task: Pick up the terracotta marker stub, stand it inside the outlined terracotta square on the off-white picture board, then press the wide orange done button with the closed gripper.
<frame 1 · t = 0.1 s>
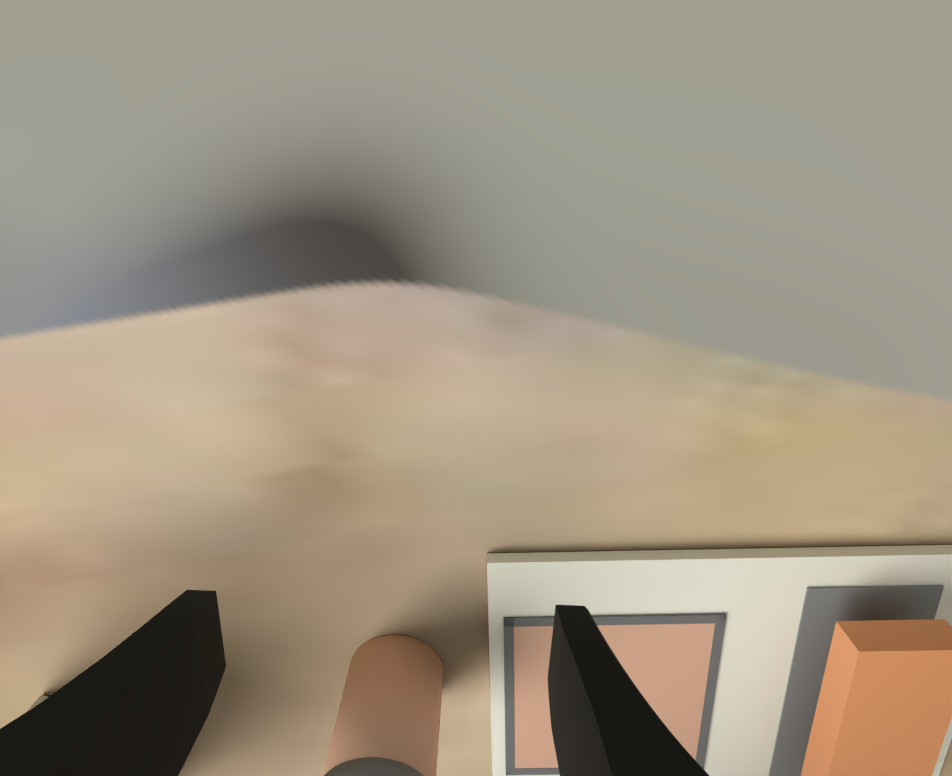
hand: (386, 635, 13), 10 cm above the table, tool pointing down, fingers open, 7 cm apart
terracotta marker: (396, 671, 27), on the table
picture board: (722, 684, 27), on the table
done button: (874, 735, 24), point 3 cm above the table, slide at 0.0 cm
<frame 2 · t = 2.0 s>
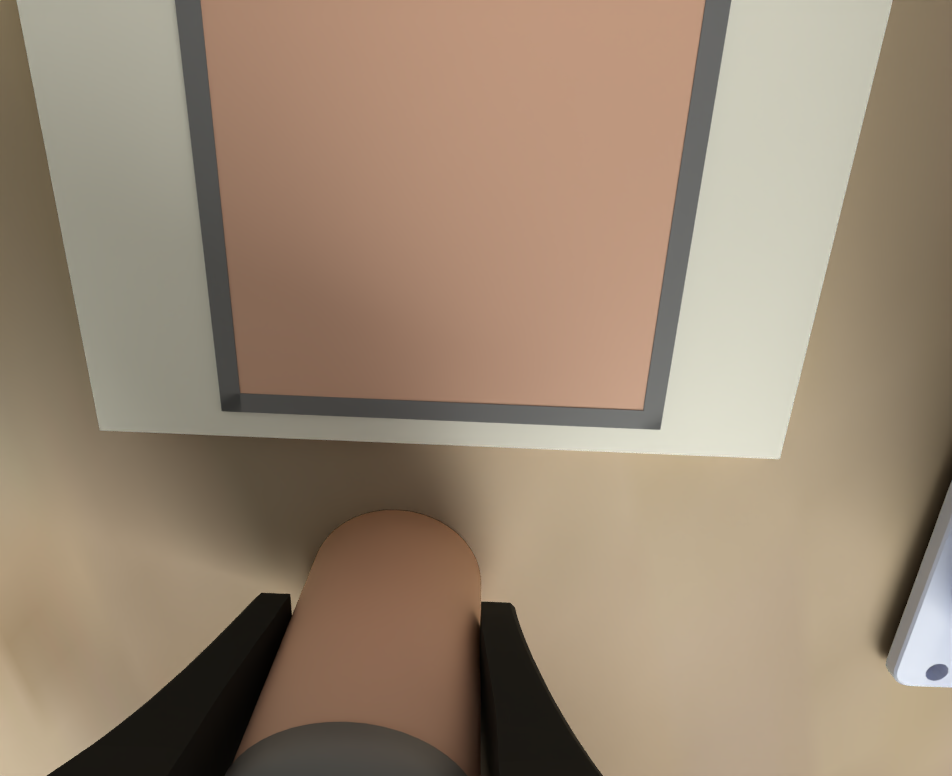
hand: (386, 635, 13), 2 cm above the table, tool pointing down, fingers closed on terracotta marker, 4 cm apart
terracotta marker: (396, 582, 15), on the table, touching gripper
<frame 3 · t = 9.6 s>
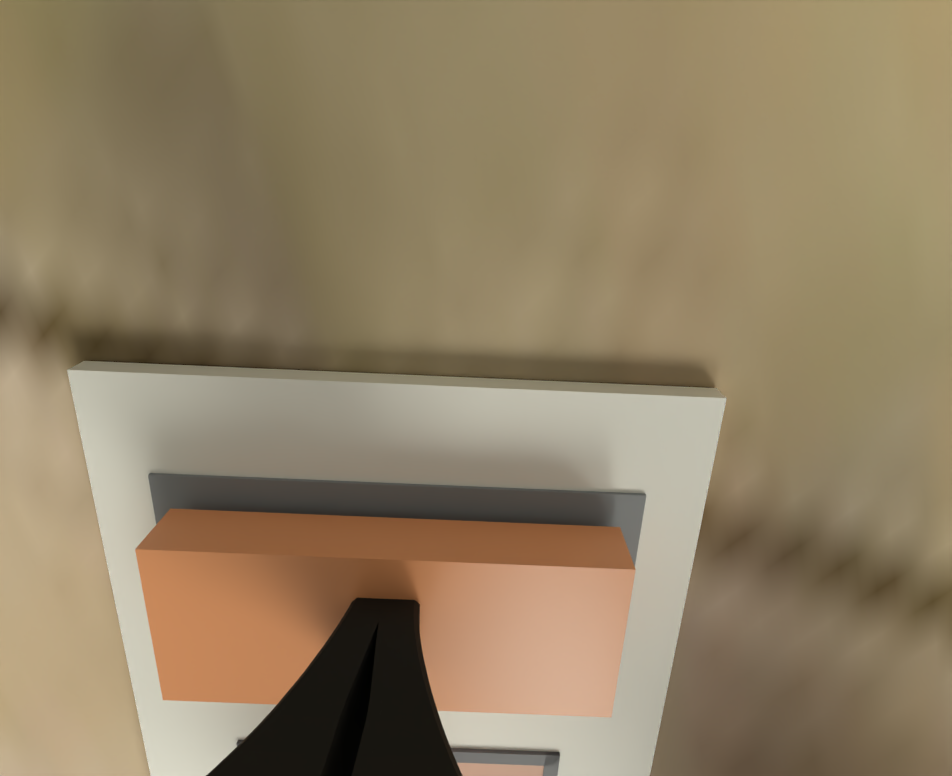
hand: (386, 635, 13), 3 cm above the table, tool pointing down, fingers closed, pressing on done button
picture board: (401, 710, 17), on the table
done button: (391, 613, 14), point 2 cm above the table, slide at 0.7 cm, touching gripper
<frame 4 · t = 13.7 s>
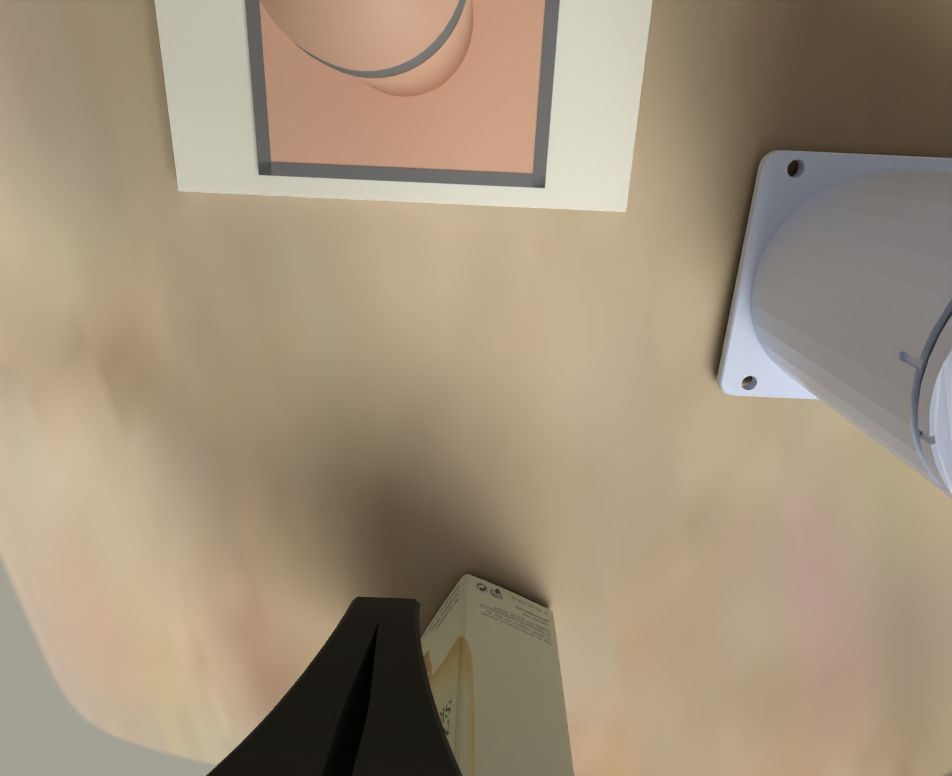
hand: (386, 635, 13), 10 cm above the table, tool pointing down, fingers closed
terracotta marker: (402, 18, 17), point 1 cm above the table, touching picture board
skincare box: (474, 637, 27), on the table
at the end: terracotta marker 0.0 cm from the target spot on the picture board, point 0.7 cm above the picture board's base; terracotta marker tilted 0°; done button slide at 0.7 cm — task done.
